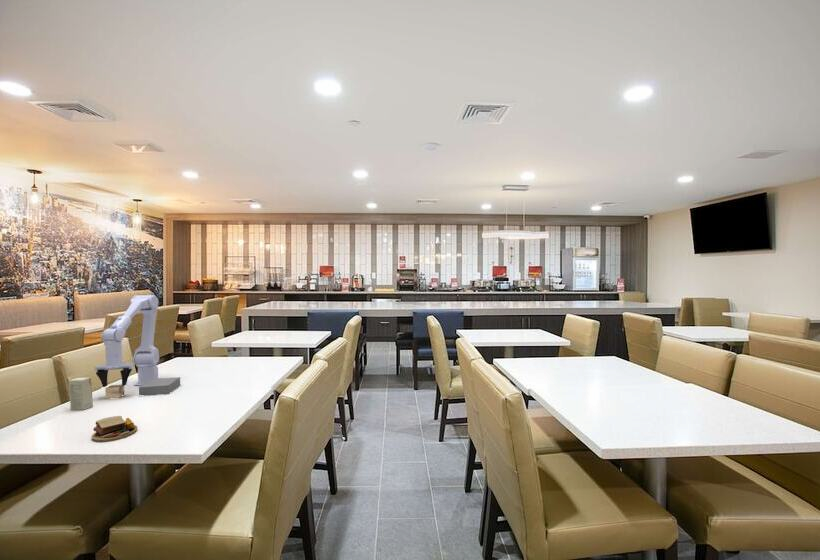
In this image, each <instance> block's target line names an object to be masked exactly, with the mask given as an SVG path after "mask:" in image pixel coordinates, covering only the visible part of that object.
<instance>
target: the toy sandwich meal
mask: <svg viewBox="0 0 820 560" xmlns="http://www.w3.org/2000/svg"><path fill="white" fill-rule="evenodd" d="M92 430H93V432H94V433H93V434H92V435H91V439H93V440H95V441H96V442H109V441H110V440H111V441H115V440H121V439H123V438H126V437H128V435H129V436H131V435H132V434H134V433H135V432H136V431H137V430H138V425H136V424H135V423H134V422H133V421H132V419H130V418H129V417H126V418H125V420H124V419H123V417H122V416H121V415H115V416H109V417H105V418H101V419H98V420H96V421H95V427H93V429H92ZM133 432H134V433H133ZM130 434H131V435H130ZM111 441H110V442H111Z"/></svg>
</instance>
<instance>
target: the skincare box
mask: <svg viewBox="0 0 820 560" xmlns="http://www.w3.org/2000/svg"><path fill="white" fill-rule="evenodd" d="M92 384H93V383H92V377H75V378H73V379H69V380H68V390H69V403H70V405H69V407H70V410H71V411H74V410H77V411H79V410H83V411H84V410H87V409H89V408H92V407H93V406H94V403H93V401H94V400H93V387H92Z"/></svg>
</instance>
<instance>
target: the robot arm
mask: <svg viewBox="0 0 820 560" xmlns="http://www.w3.org/2000/svg"><path fill="white" fill-rule="evenodd" d="M158 310H159V299H158V297H157V296H156V295H155V294H151V295H149V294H147V295H146V294H145V295H138V294H136V295H133V296H132V297H131V298H130V305H129V307H128V308H127V309H126V311H125V313H123V315H120V316H118V317H117V318H116V319H115V321H114V322H113V323H112V325H111V326H110V327H109V328H106V329H105V330H103V331H102V334H101V336H100V337H101V340H102V341H103V345H104V347H105V364H103V365H96V366H93V367H94V368H93V369H94V372H95V375H96V376H97V377H98V378H99V380H100V382H101V385H102V388H107V387H108V374H109V371H112V370H114V371H115V370H120V372H119V373H120V375H121V384H122V386H124V387H125V386H127V383H128V380H129V379H128V378H130V377H129V376H130V374H131V372H132V370H133V369H134V365H136V366H135V367H136V368H137V380H138V381H137V382H136V383H135V384H134V386H135V385H138V386H142V385H144V384H145V383H147V382H149V381H150V380H152V379H159V368H158V365H157V364H158V363H159V361H160V354H159V352H160V351H159V349H158V348H157V347H156V346H154V344H155V343H154V341H155V330H156V329H155V328H156V322H157V321H156V319H157V318H156V317H157V312H158ZM139 312H140V313H142V315H143V317H142V331H141V339H140V346H138V347H137V348H136V349H135V350H134V355H133V357H132V362H133V363H123V354H122V353H123V352H122V349H123V348H122V341H123V340H124V339H125V337H126V333H127V330H128V328H129V327H130V326H131V324H132V322H133V321H132V319H133V318H134V317H135V316H136V315H137V314H138V313H139Z"/></svg>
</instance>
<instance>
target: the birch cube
mask: <svg viewBox="0 0 820 560" xmlns="http://www.w3.org/2000/svg"><path fill="white" fill-rule="evenodd" d="M104 389H105V400H111V399H110V398H119V397H120V398H122V397H123V396H122V395H124V394H125V386H122V383H121V384H111V385H109V386H106V387H104ZM121 396H122V397H121ZM124 396H125V395H124ZM120 398H119V399H120Z"/></svg>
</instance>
